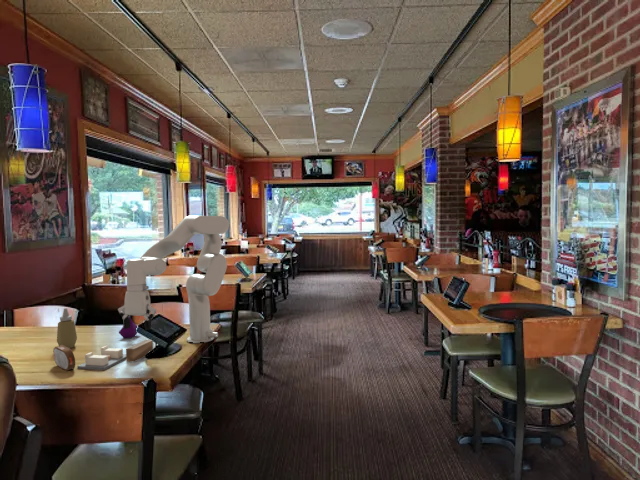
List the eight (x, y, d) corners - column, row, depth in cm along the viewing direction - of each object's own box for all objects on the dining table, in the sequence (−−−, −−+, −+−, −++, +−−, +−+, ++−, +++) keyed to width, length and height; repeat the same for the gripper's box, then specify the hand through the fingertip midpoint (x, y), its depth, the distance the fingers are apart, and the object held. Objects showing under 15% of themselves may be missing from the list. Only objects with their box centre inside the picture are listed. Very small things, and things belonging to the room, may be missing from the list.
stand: (130, 356, 185) (129, 345, 184) (104, 370, 169) (103, 357, 169) (105, 355, 187) (104, 344, 187) (77, 368, 171) (76, 356, 171)
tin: (76, 370, 169) (75, 349, 168) (67, 373, 167) (66, 351, 166) (61, 363, 178) (60, 342, 178) (52, 365, 176) (51, 344, 176)
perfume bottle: (133, 338, 212) (132, 302, 211) (118, 339, 212) (116, 302, 211) (140, 334, 220) (138, 299, 219) (125, 334, 220) (124, 299, 219)
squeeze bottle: (68, 350, 195) (66, 310, 194) (52, 349, 197) (50, 310, 196) (81, 345, 203) (79, 307, 202) (66, 344, 205) (64, 306, 204)
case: (153, 352, 191) (152, 340, 190) (133, 362, 178) (133, 349, 178) (146, 352, 191) (145, 339, 191) (126, 361, 179) (125, 348, 179)
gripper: (160, 287, 185) (161, 327, 185) (124, 286, 188) (124, 325, 189) (150, 290, 177) (150, 331, 178) (112, 289, 181) (113, 329, 182)
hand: (137, 328), depth 183 cm, fingers open, 9 cm apart
